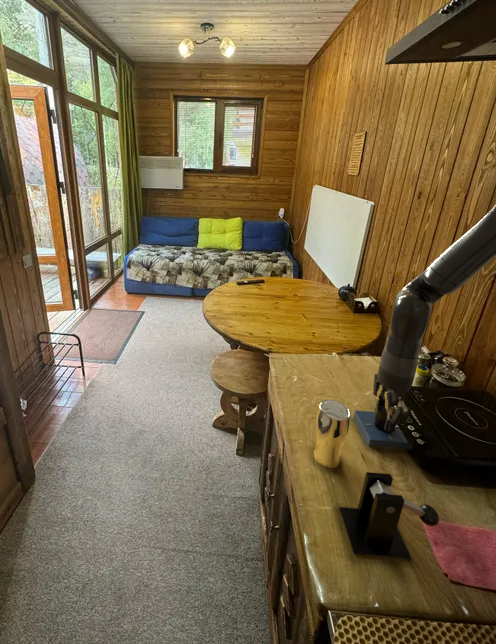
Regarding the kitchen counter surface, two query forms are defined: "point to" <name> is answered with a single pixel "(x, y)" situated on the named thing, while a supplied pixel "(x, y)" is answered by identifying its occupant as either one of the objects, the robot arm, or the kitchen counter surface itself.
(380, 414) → the knob
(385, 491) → the tap lever
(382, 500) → the bracket
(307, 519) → the kitchen counter surface
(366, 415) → the valve panel
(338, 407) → the beer glass
